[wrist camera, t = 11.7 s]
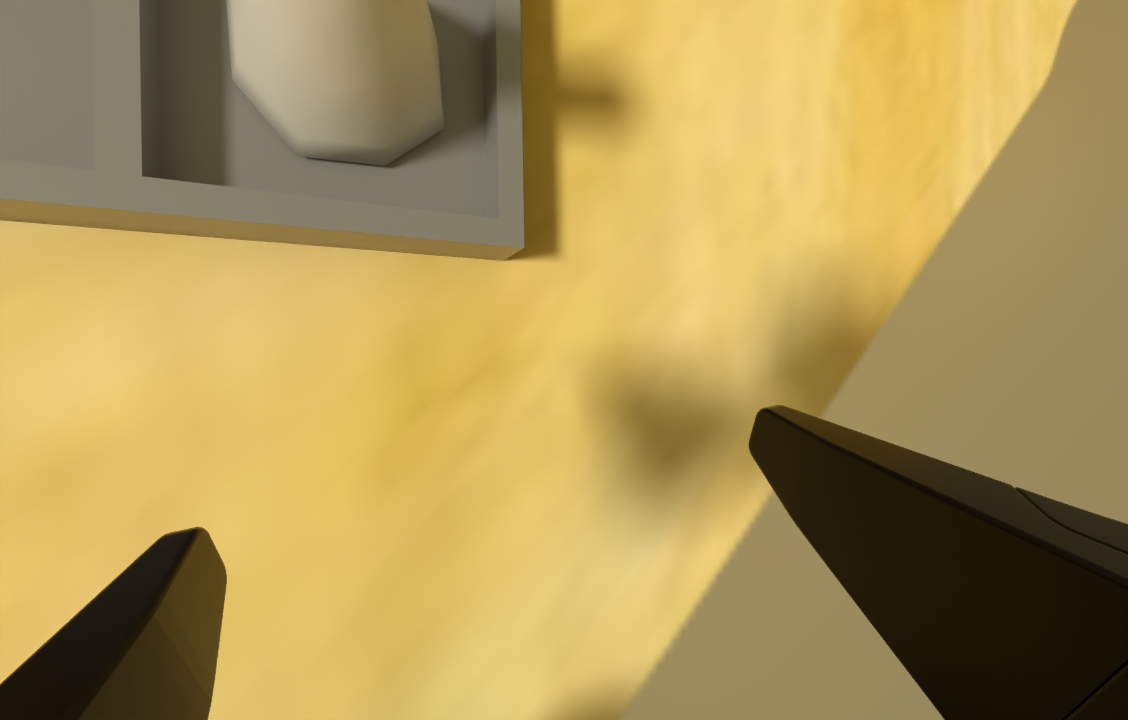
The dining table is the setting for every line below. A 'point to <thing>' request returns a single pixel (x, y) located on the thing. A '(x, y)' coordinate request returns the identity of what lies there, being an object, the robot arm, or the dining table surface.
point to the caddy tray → (245, 135)
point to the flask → (340, 74)
